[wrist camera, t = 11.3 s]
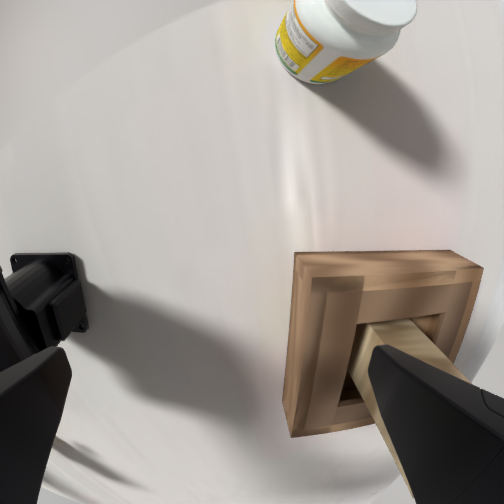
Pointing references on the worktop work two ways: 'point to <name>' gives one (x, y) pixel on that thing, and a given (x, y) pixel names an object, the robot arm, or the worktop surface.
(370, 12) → the supplement bottle
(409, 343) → the oak block
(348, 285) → the box
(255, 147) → the worktop surface
